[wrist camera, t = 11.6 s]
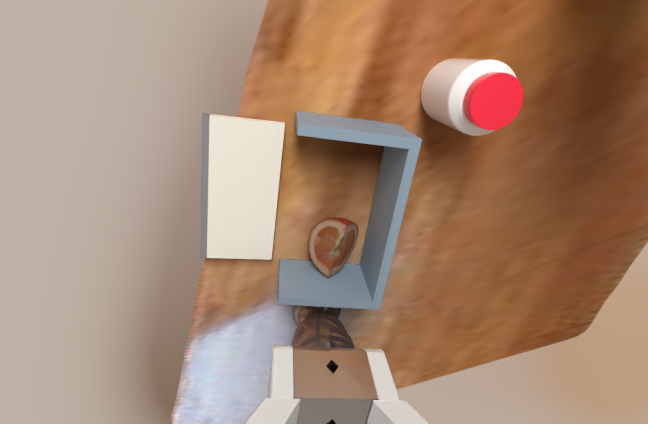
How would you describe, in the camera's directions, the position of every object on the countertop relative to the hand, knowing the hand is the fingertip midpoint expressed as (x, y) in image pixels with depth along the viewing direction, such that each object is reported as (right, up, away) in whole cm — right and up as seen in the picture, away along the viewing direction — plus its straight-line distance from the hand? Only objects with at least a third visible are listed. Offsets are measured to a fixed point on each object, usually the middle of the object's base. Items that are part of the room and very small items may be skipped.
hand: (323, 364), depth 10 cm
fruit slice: (+1, +1, +42) cm, 42 cm away
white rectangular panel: (-6, +7, +39) cm, 40 cm away
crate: (+1, +6, +40) cm, 40 cm away
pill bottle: (+16, +19, +36) cm, 44 cm away
